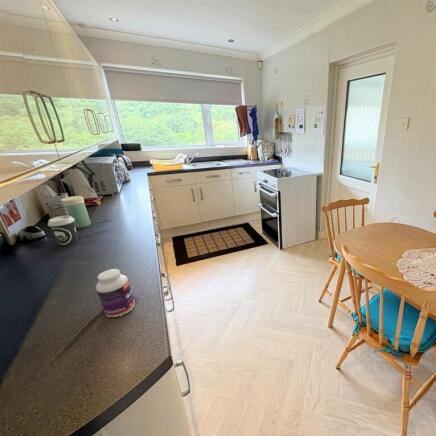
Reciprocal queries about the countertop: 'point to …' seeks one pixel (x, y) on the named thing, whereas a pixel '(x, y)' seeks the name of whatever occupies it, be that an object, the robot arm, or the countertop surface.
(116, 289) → the pill bottle
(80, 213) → the thermos
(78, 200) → the thermos lid
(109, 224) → the countertop surface
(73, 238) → the coffee cup
